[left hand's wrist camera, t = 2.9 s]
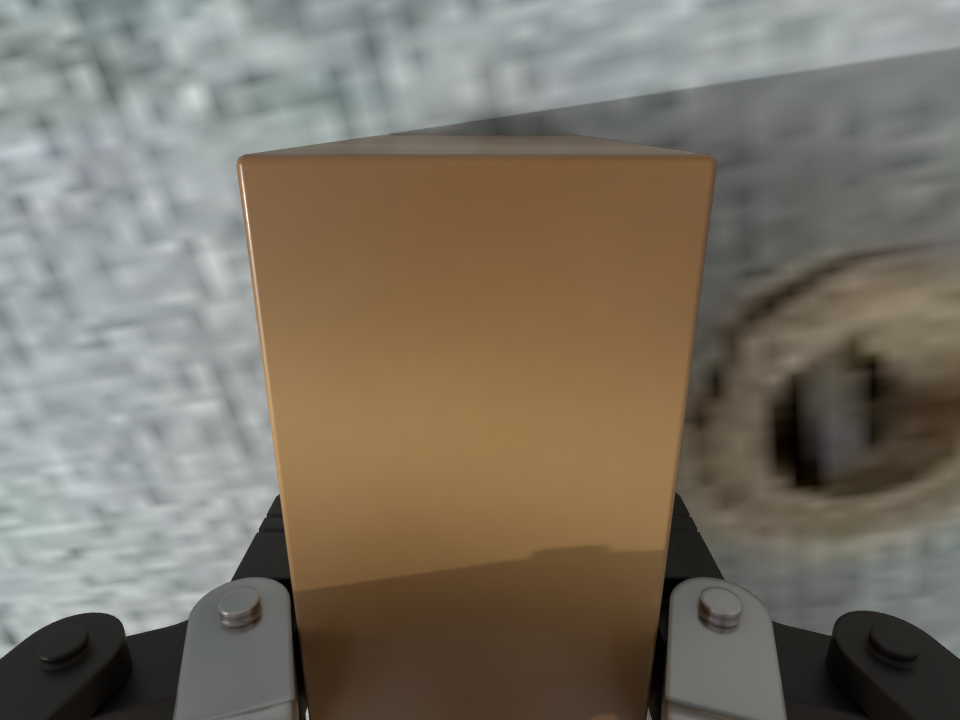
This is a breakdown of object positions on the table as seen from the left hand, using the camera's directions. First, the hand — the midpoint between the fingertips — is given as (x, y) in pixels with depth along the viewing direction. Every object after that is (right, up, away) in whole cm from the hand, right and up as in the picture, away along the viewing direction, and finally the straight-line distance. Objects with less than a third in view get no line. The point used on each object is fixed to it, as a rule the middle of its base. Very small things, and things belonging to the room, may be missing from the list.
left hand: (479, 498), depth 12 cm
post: (0, -18, +11) cm, 22 cm away
